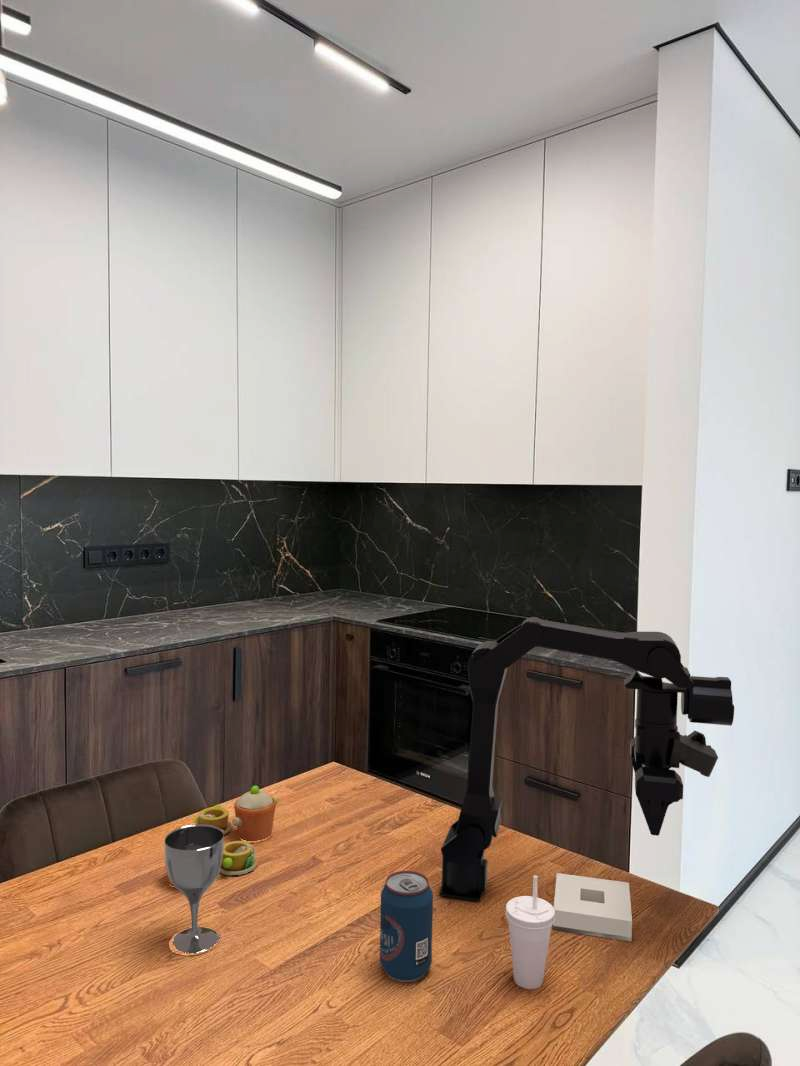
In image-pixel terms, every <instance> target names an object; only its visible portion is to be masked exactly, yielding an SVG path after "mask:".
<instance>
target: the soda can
mask: <svg viewBox="0 0 800 1066" xmlns="http://www.w3.org/2000/svg"><path fill="white" fill-rule="evenodd" d="M431 888H432V887H431V886H430V880H429V879H428V877H427V876H426V875H425V874H423V873H420V872H418V871H412V870H399V871H395V872H392V873H391V874H389V875H387V877H386V879H385V884H384V885H383V888H382V889H381V892H380V916H379V917H380V921H379V922H380V926H379V927H380V928H379V929H380V930H379V931H380V933H379V963H380V965H381V967H382V969H383V970H384V972H385V974H386V975H387V976H388V977H389V978H390V979H392V980H394V981H397V982H402V983H411V982H415V981H419V980H421V979H422V978H423V977H424V976H425V975H426V974H427V973H428V971H429V969H430V967H431V966H432V961H433V923H434V922H433V921H434V919H433V918H434V917H433V915H434V914H433V913H434V911H433V910H434V909H433V908H434V894H433V890H432V889H431Z"/></svg>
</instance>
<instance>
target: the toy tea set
mask: <svg viewBox="0 0 800 1066" xmlns="http://www.w3.org/2000/svg"><path fill="white" fill-rule="evenodd" d="M278 803H279V800H278V798H277V797H275V796H274V797H273V796H271V795H270V794H268V793H266V792H265V791H262V790H260V788H259V786H258V785H253V786H252V787H250V791H247V792H245V793H243V794H242V795H241V796H239V798H238V799H237V800H235V802H234V805H233V808H234V815H235V816H234V817H232V820H231V821H229V814H230V811H229V810H228V808H225V807H222V806H221V805H220V804H215V805H214V806H211V807H207V808H204V809H202V810H201V811H200V812H199V814H198V815H195V817H194V818H193V819H192V822H193V823H194V825H196V824H206V825H212V826H215V827H218V828H220V829H221V830H222V831H223V835H224V834H225V835H227V834H229V833H230V832H231V831H232V830H233V828H234V827H235V826H236V827H237V833H238V834H237V835H238V838H239V837H240V838H241V839H243V840H246V841H257V840H262V839H265V838H267V837H268V836H270V835H271V836H272V832H273V824H274V819H275V813H276V806H277V805H278ZM228 832H229V833H228ZM226 833H227V834H226ZM225 835H224V836H225ZM255 856H256V848H255V847H254V846H253V845H252V843H248V842H244V841H241V840H234V841H229V842H226V843H224V848H223V858H222V863H221V867H220V871H219V874H223V875H225V876H230V875H231V877H233V876H232V875H238V876H242V874H243V875H246V874H249V873H251V872H252V871H254V870H255V869H256V867H257V865H258V860H257V858H256V857H255ZM164 864H165V866H166V862H165V861H164ZM165 871H166V877H167V882H168V885H169V884H170V885H171V886H174V885H173V883H172V882H171V881H170V878H169V876H168V872H167V868H166V867H165ZM250 871H251V872H250ZM248 872H249V873H248ZM170 885H169V886H170ZM171 886H170V887H171ZM174 887H175V886H174Z"/></svg>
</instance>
